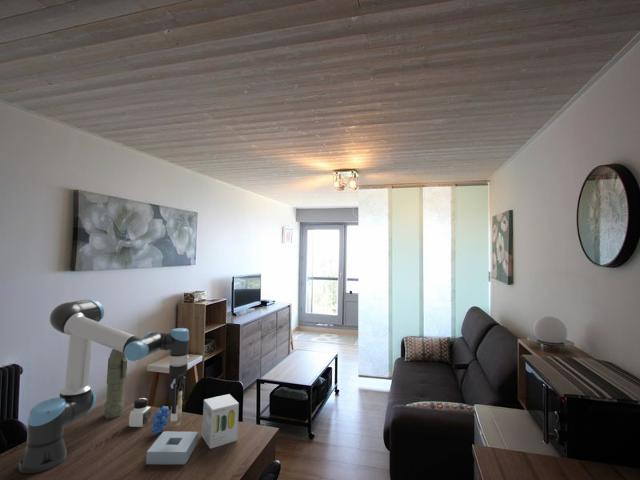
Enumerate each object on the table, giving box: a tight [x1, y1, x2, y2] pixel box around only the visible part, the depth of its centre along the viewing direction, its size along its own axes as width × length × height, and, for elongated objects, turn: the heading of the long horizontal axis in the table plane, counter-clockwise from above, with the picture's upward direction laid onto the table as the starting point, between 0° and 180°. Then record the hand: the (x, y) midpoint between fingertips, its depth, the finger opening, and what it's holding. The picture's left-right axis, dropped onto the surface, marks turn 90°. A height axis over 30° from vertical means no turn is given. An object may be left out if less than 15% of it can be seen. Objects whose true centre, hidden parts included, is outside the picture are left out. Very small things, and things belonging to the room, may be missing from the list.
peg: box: [170, 391, 183, 428], centre depth 145 cm, size 4×4×14 cm
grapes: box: [150, 405, 171, 436], centre depth 160 cm, size 12×7×12 cm, turn 169°
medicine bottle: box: [128, 397, 152, 428], centre depth 168 cm, size 7×7×12 cm
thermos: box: [103, 349, 128, 420], centre depth 176 cm, size 9×12×35 cm
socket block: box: [145, 430, 199, 465], centre depth 144 cm, size 16×16×5 cm
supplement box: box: [201, 393, 240, 450], centre depth 157 cm, size 13×13×18 cm
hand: (176, 417), depth 144 cm, fingers closed on peg, 4 cm apart
